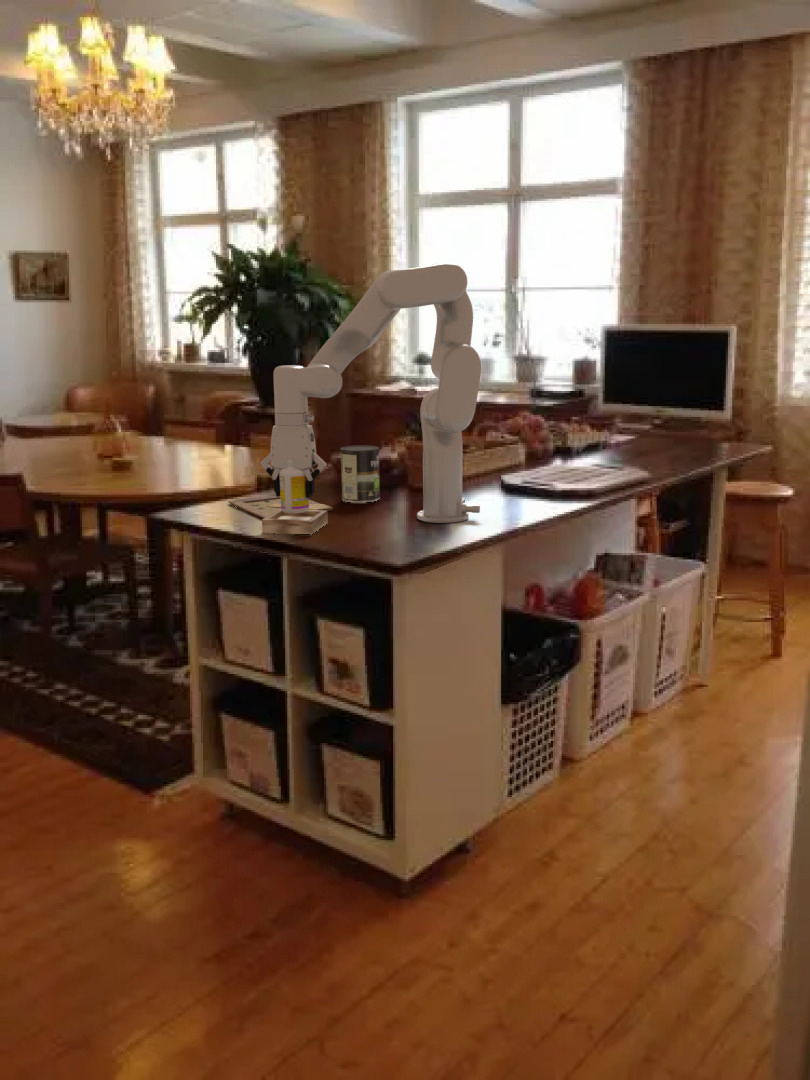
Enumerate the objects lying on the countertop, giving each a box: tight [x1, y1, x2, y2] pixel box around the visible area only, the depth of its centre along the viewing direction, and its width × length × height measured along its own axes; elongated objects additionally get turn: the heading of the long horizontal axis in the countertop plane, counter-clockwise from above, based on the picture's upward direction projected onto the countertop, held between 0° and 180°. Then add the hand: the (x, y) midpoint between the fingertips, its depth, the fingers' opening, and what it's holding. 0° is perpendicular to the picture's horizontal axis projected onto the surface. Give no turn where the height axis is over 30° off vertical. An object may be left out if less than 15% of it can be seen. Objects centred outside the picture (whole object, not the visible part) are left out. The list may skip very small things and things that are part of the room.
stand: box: [261, 509, 329, 536], centre depth 230 cm, size 12×12×3 cm
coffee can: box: [339, 444, 381, 504], centre depth 260 cm, size 10×10×14 cm
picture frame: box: [228, 494, 333, 519], centre depth 253 cm, size 19×2×24 cm
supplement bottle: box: [279, 460, 310, 513], centre depth 227 cm, size 7×7×13 cm
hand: (294, 495), depth 228 cm, fingers closed on supplement bottle, 6 cm apart
